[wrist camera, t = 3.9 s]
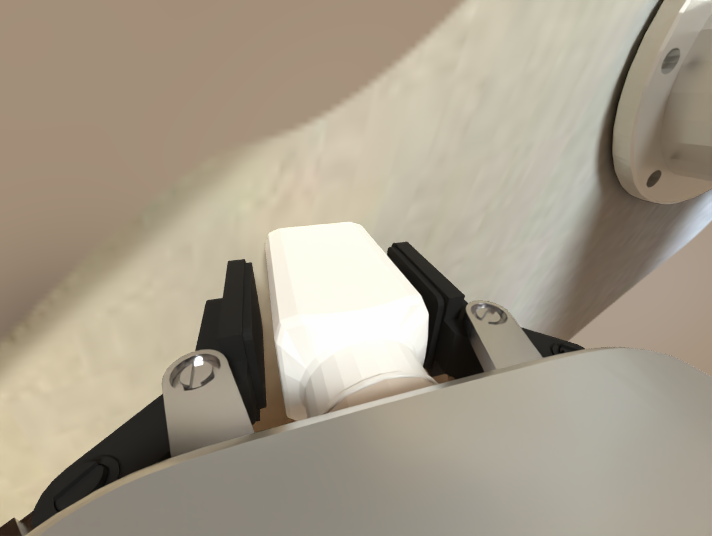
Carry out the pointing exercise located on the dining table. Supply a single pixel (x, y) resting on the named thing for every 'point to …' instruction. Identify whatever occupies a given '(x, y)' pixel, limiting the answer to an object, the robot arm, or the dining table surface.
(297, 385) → the salt shaker
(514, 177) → the dining table surface
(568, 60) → the dining table surface
